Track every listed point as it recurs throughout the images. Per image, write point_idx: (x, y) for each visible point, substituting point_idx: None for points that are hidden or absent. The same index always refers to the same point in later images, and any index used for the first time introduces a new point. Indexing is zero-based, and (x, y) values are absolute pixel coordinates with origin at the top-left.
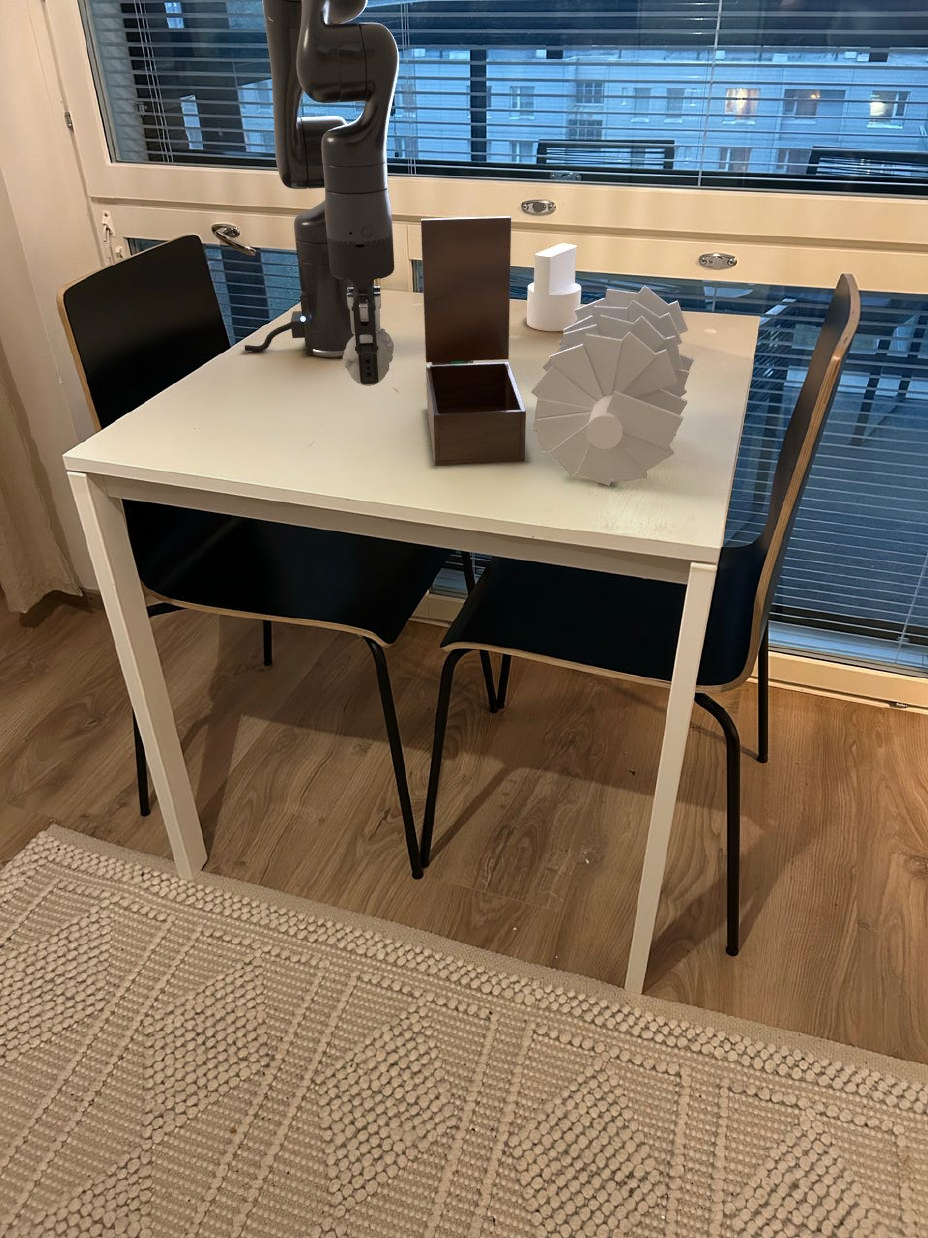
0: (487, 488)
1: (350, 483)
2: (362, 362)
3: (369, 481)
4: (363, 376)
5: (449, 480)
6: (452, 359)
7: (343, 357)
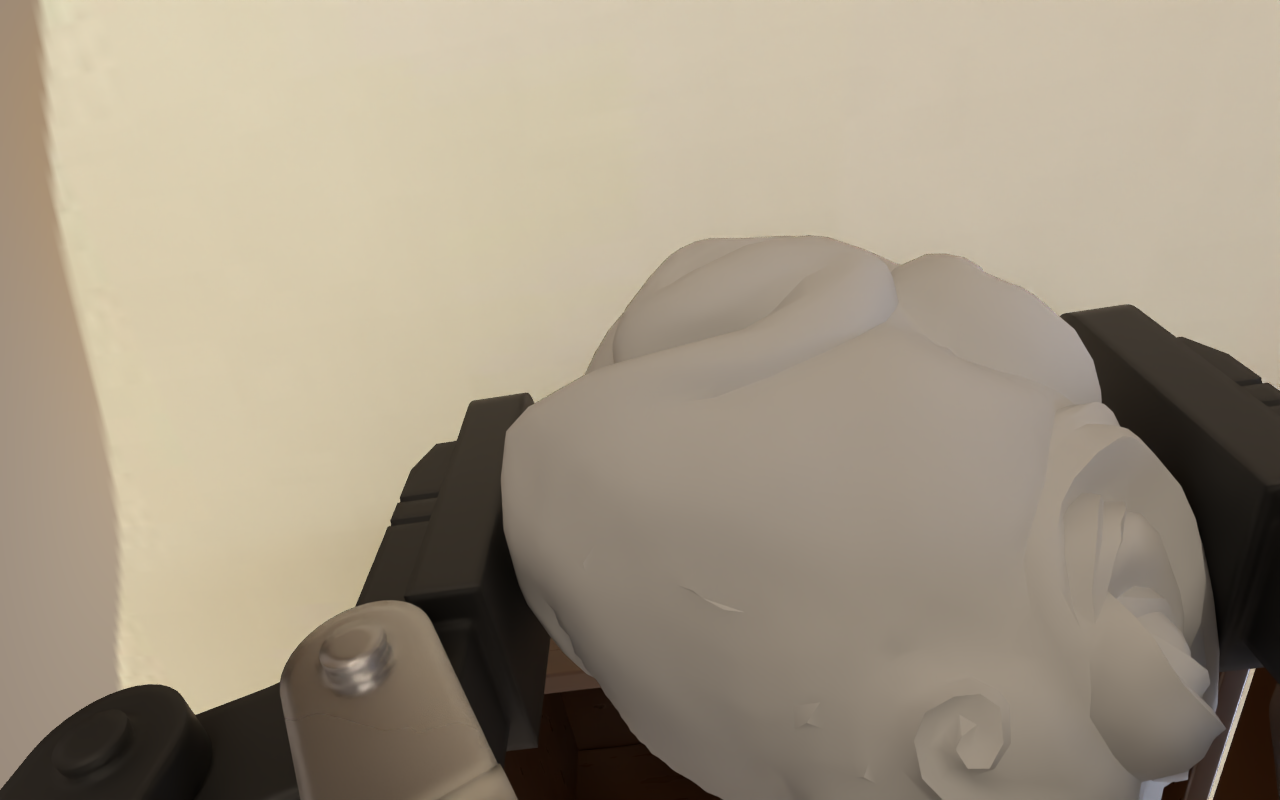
0: None
1: (202, 155)
2: (370, 582)
3: (256, 249)
4: (413, 478)
5: (362, 556)
6: (1243, 738)
7: (686, 286)
